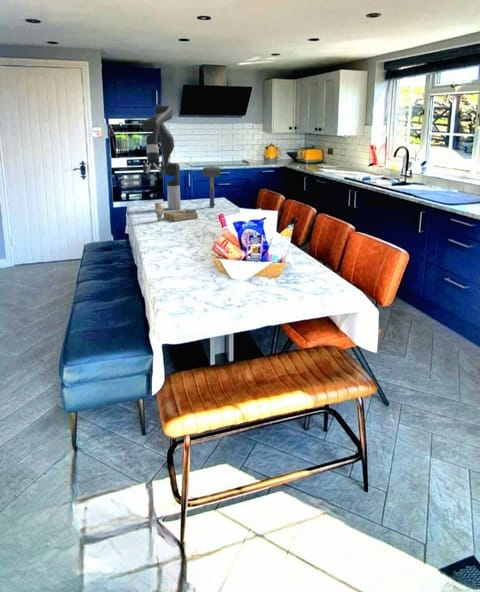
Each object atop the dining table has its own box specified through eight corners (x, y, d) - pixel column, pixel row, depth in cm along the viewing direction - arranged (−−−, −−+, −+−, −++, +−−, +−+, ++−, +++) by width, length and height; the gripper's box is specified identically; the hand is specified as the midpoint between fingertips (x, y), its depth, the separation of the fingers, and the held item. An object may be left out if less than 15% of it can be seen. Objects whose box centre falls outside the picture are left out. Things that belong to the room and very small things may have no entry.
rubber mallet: (219, 206, 391) (219, 166, 380) (221, 207, 384) (220, 167, 373) (203, 206, 389) (202, 166, 378) (204, 208, 382) (203, 167, 371)
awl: (154, 220, 340) (153, 202, 336) (161, 219, 343) (160, 202, 339) (158, 222, 336) (157, 204, 332) (164, 221, 339) (163, 203, 335)
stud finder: (185, 212, 346) (185, 209, 345) (193, 211, 350) (193, 208, 349) (188, 213, 344) (188, 210, 343) (195, 212, 347) (195, 209, 346)
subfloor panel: (163, 217, 349) (163, 212, 347) (186, 214, 359) (186, 209, 358) (174, 221, 338) (174, 215, 336) (197, 218, 348) (197, 212, 346)
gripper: (165, 152, 320) (167, 178, 322) (145, 154, 324) (147, 180, 326) (160, 150, 313) (162, 177, 315) (139, 153, 317) (141, 179, 319)
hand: (154, 179), depth 320 cm, fingers open, 8 cm apart
